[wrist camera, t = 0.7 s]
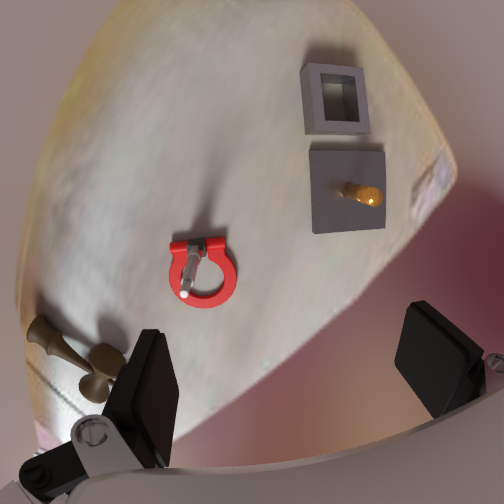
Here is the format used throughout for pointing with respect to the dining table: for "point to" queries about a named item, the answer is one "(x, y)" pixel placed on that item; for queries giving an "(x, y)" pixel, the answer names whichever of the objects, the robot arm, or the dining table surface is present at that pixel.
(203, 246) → the tow hook
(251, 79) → the dining table surface
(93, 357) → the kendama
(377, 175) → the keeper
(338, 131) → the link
